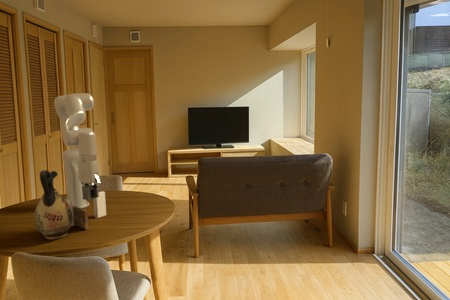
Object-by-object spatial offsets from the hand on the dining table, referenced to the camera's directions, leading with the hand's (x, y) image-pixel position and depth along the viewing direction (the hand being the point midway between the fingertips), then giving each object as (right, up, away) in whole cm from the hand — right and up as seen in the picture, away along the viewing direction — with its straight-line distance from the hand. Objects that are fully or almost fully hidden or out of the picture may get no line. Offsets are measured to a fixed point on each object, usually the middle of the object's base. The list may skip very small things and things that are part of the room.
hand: (90, 196), depth 202 cm
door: (-5, -14, -2) cm, 15 cm away
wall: (-5, -13, +7) cm, 15 cm away
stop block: (0, -1, 0) cm, 1 cm away
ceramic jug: (-11, -16, -14) cm, 24 cm away
